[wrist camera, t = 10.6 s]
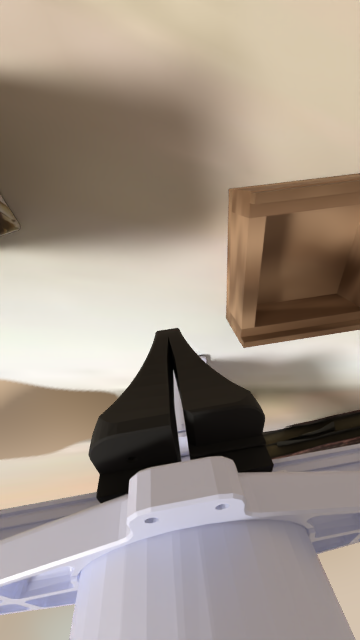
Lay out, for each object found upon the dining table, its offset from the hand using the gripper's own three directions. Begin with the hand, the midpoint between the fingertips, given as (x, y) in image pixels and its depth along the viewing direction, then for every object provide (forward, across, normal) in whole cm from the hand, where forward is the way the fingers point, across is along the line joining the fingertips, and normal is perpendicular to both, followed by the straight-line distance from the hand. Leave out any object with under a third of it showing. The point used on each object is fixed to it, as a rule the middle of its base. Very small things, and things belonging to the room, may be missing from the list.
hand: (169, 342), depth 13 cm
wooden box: (+9, -13, -1) cm, 16 cm away
